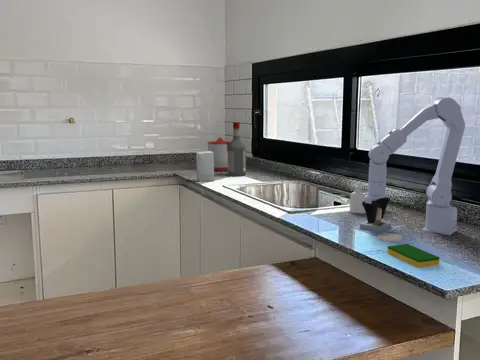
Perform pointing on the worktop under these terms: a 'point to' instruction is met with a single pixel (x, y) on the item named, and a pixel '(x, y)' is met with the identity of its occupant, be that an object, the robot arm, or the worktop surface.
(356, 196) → the eye dropper bottle
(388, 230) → the pocket block
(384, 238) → the coaster
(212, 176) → the skincare box
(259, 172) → the worktop surface
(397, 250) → the dish sponge
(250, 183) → the worktop surface
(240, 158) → the liquor
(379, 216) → the dowel
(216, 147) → the citrus juicer
